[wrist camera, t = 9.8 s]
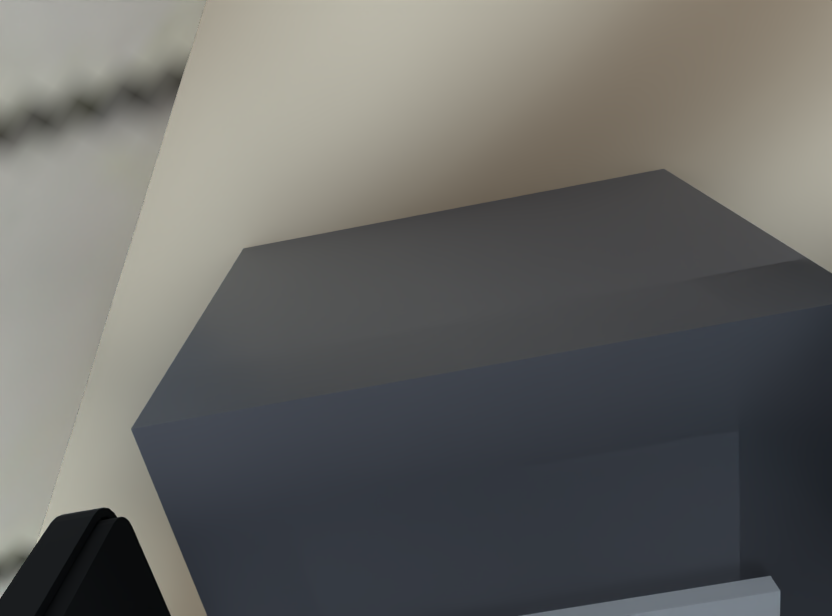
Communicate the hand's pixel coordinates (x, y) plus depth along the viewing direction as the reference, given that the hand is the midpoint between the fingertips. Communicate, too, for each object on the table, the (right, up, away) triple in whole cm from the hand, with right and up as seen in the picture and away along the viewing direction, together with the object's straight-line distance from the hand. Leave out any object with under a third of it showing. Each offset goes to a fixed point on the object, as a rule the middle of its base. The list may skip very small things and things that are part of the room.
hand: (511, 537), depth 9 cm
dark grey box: (0, +1, +3) cm, 4 cm away
